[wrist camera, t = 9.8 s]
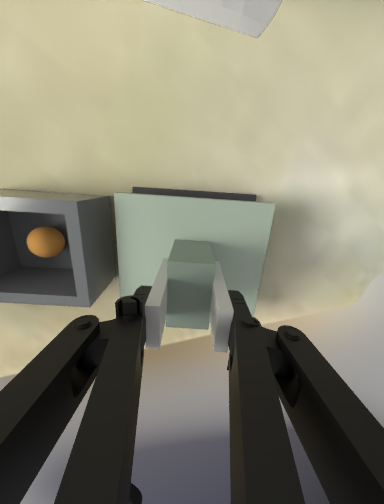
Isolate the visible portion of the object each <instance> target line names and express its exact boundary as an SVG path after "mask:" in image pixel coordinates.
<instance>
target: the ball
mask: <svg viewBox="0 0 384 504" xmlns="http://www.w3.org/2000/svg"><path fill="white" fill-rule="evenodd" d="M27 246H28V248H29V250H30V251H31V252H32V253H34V254H35V255H37V256H40V257H53V256H56V255H58V254H59V253H60V252H61V251H62V250H63V249H64V246H65V238H64V236H63V234H62V233H61V232H60V231H59V230H57V229H55V228H53V227H48V226H43V227H38V228H36V229H34V230H32V231H31V232H30V233H29V235H28V237H27Z"/></svg>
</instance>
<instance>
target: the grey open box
mask: <svg viewBox="0 0 384 504" xmlns="http://www.w3.org/2000/svg"><path fill="white" fill-rule="evenodd" d="M43 226H48V227H53V228H55V229H57V230H59V231H60V232H61V233H62V234H63V236H64V238H65V246H64V249H63V250H62V251H61V252H60V253H59V254H58V255H56V256H53V257H40V256H37V255H35V254H34V253H32V252H31V251H30V250H29V248H28V246H27V237H28V235H29V233H30V232H31V231H32V230H34V229H36V228H38V227H43ZM115 277H116V274H115V260H114V247H113V233H112V220H111V206H110V196H103V195H88V194H72V193H56V192H40V191H24V190H9V189H0V302H5V303H23V304H40V305H58V306H76V307H91V306H92V304H93V303H94V302H95V301H96V300H97V298H98V297H99V296H100V295H101V294H102V292H103V291H104V290H105V289H106V288H107V286H108V285H109V284H110V283H111V282H112V280H113V279H114V278H115Z"/></svg>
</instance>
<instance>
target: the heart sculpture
mask: <svg viewBox="0 0 384 504" xmlns="http://www.w3.org/2000/svg"><path fill="white" fill-rule="evenodd" d="M144 1H147V2H150V3H153V4H156V5H159V6H162V7H165V8H168V9H171V10H174V11H177V12H180V13H183V14H186V15H189V16H192V17H195V18H198V19H201V20H204V21H207V22H210V23H213V24H216V25H219V26H222V27H225V28H228V29H231V30H234V31H237V32H240V33H243V34H246V35H249V36H252V37H255V38H258V36H259V35H260V34H261V33H262V31H263V30H264V29H265V28H266V27H267V25H268V24H269V22H270V21H271V19H272V18H273V16H274V15H275V13H276V11H277V9H278V7H279V5H280V3H281V1H282V0H144Z"/></svg>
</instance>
